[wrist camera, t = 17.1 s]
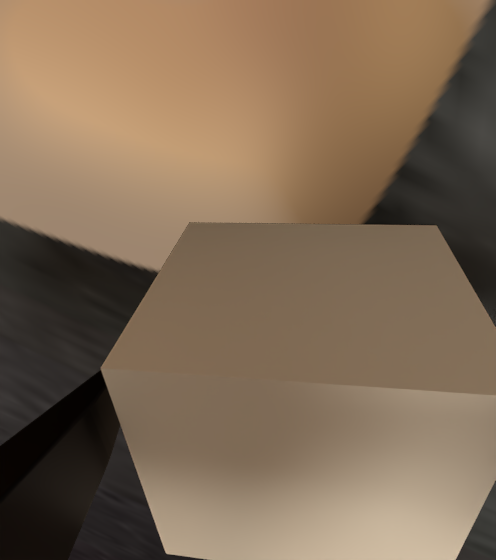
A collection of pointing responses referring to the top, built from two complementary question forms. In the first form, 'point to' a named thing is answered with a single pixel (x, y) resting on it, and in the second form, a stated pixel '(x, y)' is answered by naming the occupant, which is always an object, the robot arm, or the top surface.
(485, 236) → the top surface
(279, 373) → the cream cube
